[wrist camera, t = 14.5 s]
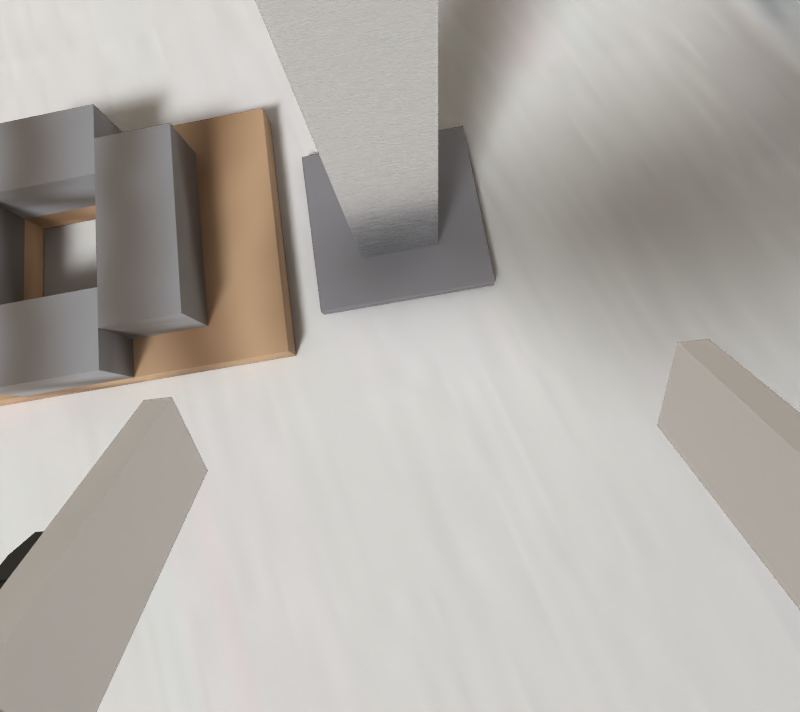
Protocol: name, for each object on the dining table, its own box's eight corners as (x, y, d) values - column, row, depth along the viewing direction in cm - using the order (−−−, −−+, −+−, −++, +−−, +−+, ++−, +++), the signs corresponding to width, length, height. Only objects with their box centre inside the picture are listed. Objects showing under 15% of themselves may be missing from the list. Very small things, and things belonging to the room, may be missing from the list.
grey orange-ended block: (425, 175, 24) (396, -436, 7) (438, 244, 23) (438, -264, 6) (352, 189, 24) (159, -373, 7) (362, 258, 23) (172, -199, 7)
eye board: (270, 122, 26) (244, 73, 22) (295, 355, 23) (270, 340, 20) (-80, 192, 27) (-158, 155, 24) (-95, 422, 24) (-186, 419, 21)
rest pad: (462, 133, 25) (462, 125, 24) (493, 284, 23) (494, 280, 22) (304, 163, 25) (301, 157, 25) (323, 314, 23) (320, 311, 23)
